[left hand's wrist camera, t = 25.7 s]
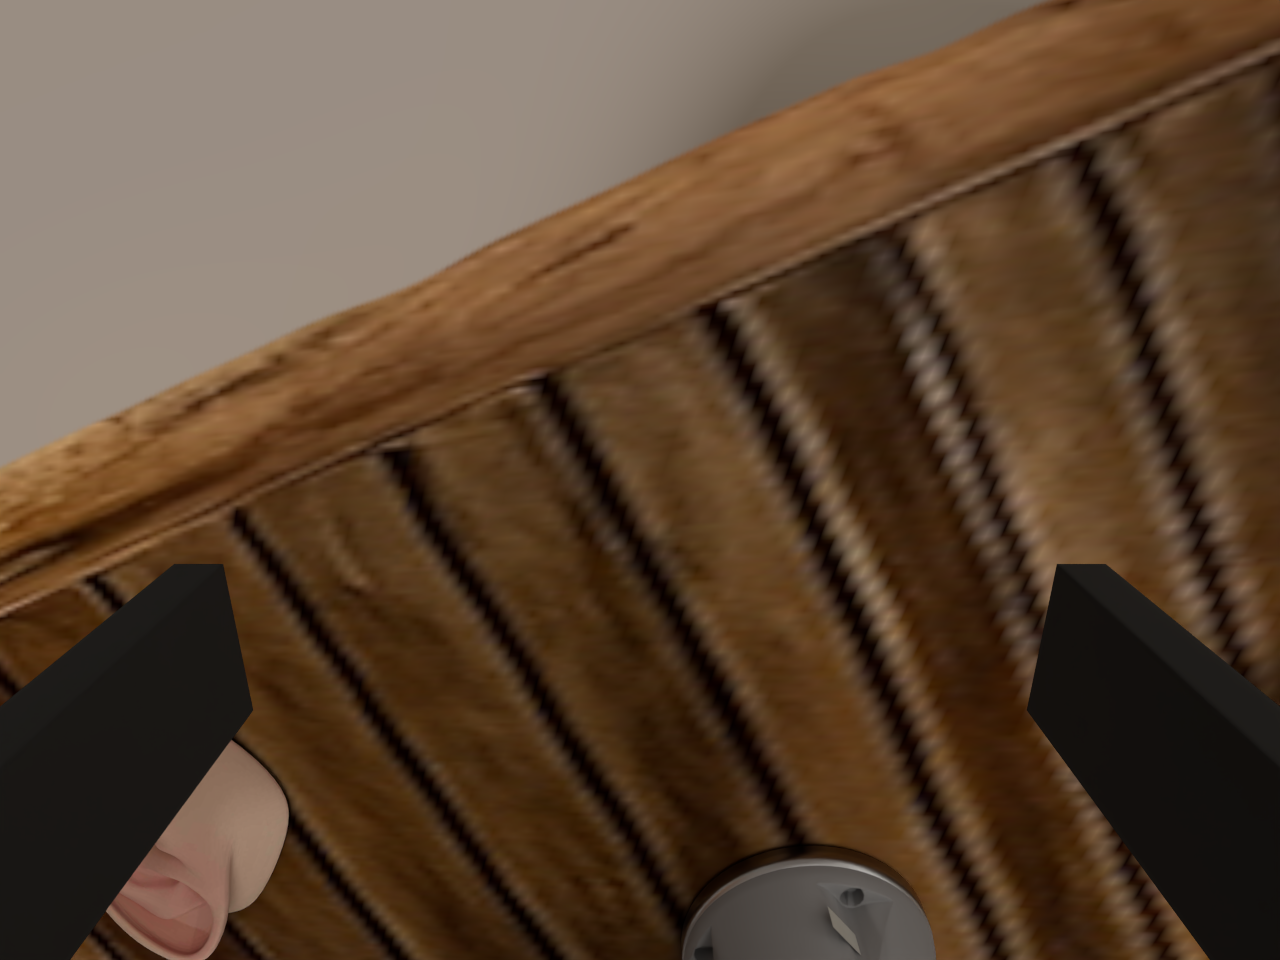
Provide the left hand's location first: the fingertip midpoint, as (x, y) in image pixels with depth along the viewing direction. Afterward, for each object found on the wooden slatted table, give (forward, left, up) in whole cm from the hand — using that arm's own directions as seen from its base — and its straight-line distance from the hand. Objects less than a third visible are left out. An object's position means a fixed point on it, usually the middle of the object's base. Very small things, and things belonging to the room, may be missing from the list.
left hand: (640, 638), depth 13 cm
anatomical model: (-12, +36, -25) cm, 46 cm away
